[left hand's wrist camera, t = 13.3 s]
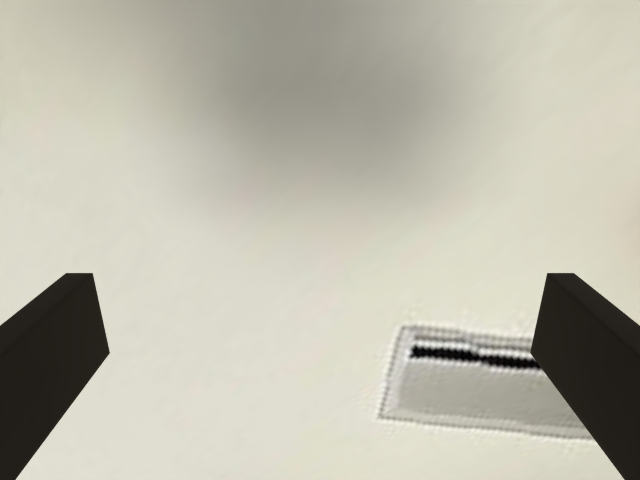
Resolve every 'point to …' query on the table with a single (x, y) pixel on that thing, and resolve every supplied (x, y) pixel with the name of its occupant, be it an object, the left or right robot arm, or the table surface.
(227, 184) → the table surface
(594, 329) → the left robot arm
